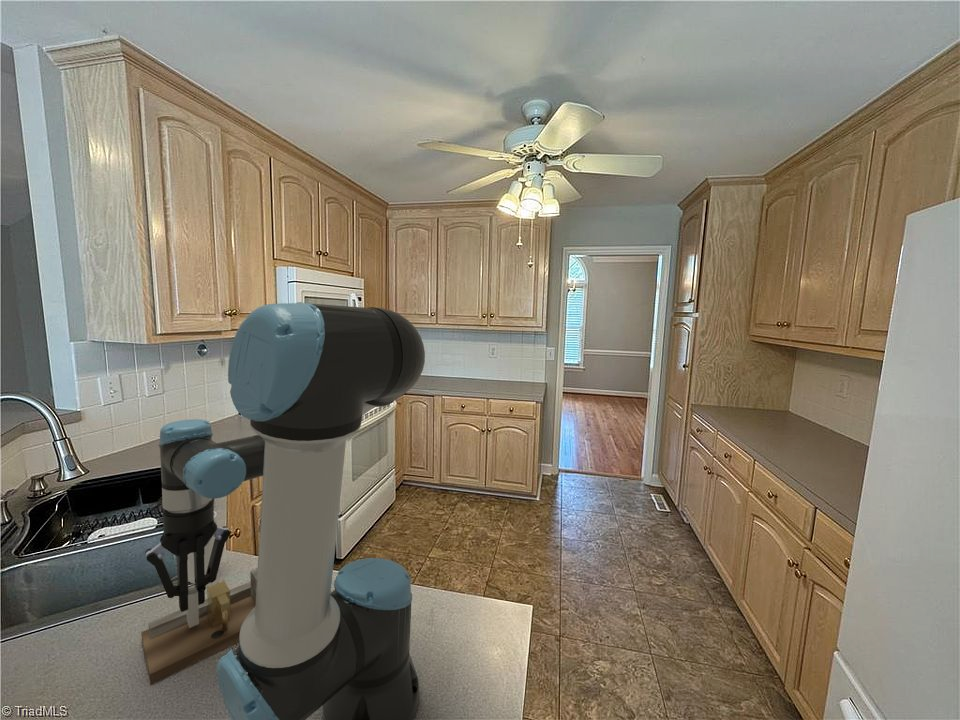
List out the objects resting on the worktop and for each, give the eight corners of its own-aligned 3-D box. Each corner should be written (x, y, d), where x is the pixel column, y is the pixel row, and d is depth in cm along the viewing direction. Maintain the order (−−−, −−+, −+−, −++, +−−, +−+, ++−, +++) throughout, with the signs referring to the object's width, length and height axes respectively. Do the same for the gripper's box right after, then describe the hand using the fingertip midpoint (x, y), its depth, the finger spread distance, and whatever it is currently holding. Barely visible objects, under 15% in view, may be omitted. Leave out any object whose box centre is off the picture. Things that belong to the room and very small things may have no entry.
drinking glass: (177, 589, 88) (175, 525, 86) (191, 570, 95) (188, 510, 93) (212, 585, 90) (210, 522, 88) (223, 566, 96) (221, 508, 95)
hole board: (297, 612, 83) (297, 576, 82) (150, 685, 66) (148, 640, 65) (277, 584, 91) (277, 551, 90) (141, 641, 74) (139, 602, 73)
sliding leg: (235, 627, 76) (234, 599, 75) (216, 636, 74) (216, 606, 73) (225, 607, 81) (224, 580, 80) (207, 615, 78) (206, 587, 78)
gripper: (224, 487, 80) (227, 595, 82) (139, 507, 70) (145, 628, 73) (234, 500, 74) (237, 615, 77) (144, 524, 65) (151, 653, 68)
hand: (192, 621), depth 75 cm, fingers closed
